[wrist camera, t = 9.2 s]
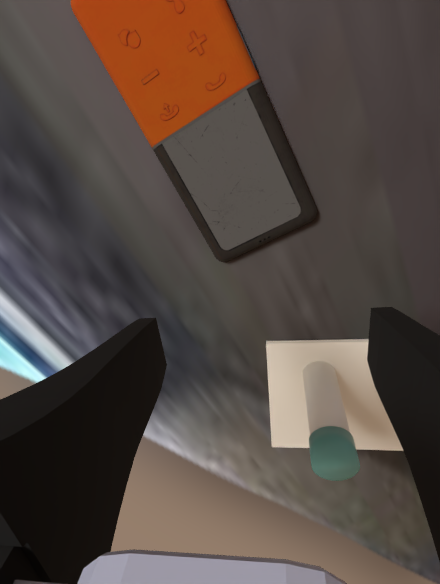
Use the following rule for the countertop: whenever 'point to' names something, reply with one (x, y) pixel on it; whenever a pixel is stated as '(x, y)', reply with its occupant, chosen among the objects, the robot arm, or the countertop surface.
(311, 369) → the marker
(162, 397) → the countertop surface
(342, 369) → the notepad
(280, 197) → the phone
